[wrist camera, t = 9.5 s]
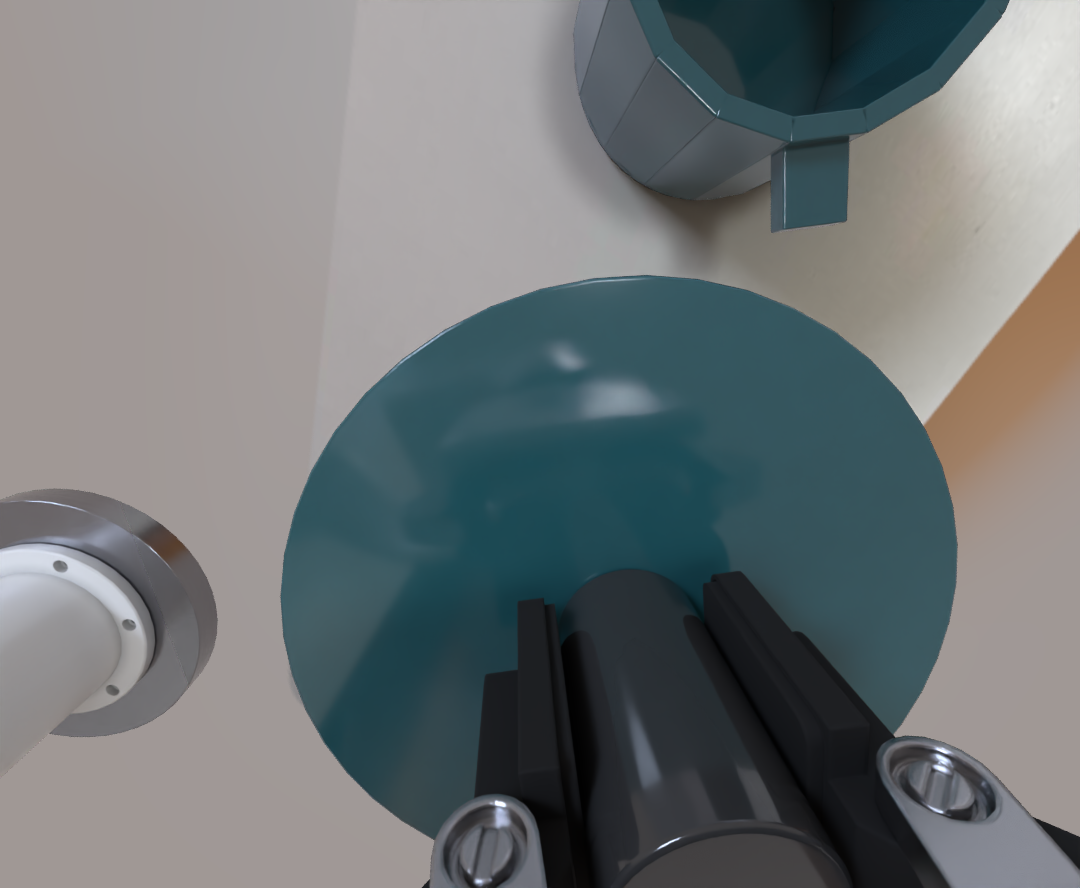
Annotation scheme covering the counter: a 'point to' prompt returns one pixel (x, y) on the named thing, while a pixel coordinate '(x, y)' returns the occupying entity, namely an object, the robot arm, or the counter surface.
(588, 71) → the saucepan
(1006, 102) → the counter surface
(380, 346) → the counter surface
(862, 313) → the counter surface
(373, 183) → the counter surface
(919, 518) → the saucepan lid
